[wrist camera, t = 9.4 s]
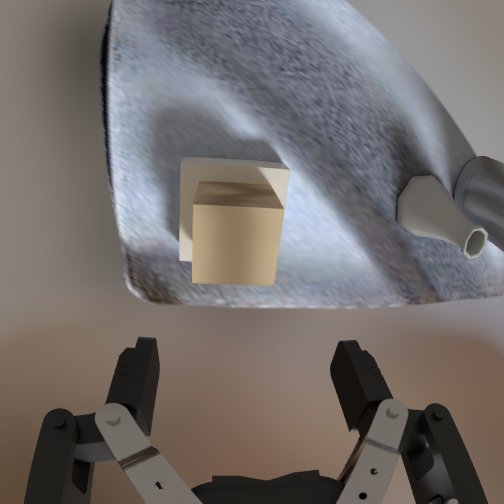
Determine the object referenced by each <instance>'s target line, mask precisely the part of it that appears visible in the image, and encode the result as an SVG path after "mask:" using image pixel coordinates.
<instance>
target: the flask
mask: <svg viewBox="0 0 504 504" xmlns="http://www.w3.org/2000/svg"><path fill="white" fill-rule="evenodd" d="M397 224H399V225H400V226H401V227H403V228H404V229H406V230H407V231H408V232H410V233H411V234H413V235H418V236H425V237H431V238H436V239H441V240H445V241H448V242H451V243H453V244H455V245H457V246H459V247H460V248H461V252H462V253H463V254H464V255H466V256H467V257H468V258H469V259H471V258H475V257H479V255H480V254H481V252H482V251H483V249H484V248H485V246H486V242H487V237H488V232H487V231H486V230H485V229H484V228H483V227H482V226H480V225H478V226H475V225H474V224H472V223H471V222H469V221H468V220H467V219H466V218H465V217H464V215H463V214H462V212H461V210H460V209H459V207H458V206H457V204H456V203H455V201H454V200H453V198H452V196H451V195H450V193H449V192H448V190H447V189H446V188H445V187H444V186H443V185H442V184H441V183H440V182H439V181H438V180H437V179H436V178H435V177H434V176H433V175H428V176H416V177H411V179H410V180H409V182H408V184H407V185H406V187H405V188H404V190H403V192H402V193H401V195H400V196H399V198H398V211H397Z"/></svg>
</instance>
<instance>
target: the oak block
mask: <svg viewBox="0 0 504 504" xmlns="http://www.w3.org/2000/svg"><path fill="white" fill-rule="evenodd" d="M283 217H284V207H283V206H282V204H281V202H280V200H279V198H278V197H277V195H276V193H275V191H274V190H273V188H272V186H271V185H262V184H247V183H229V182H208V181H199V183H198V187H197V191H196V195H195V199H194V204H193V247H192V283H206V284H236V285H274V279H275V272H276V266H277V259H278V252H279V245H280V238H281V231H282V224H283Z"/></svg>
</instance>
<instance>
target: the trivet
mask: <svg viewBox="0 0 504 504" xmlns="http://www.w3.org/2000/svg"><path fill="white" fill-rule="evenodd" d="M289 173H290V169H289V168H288V167H287V166H286V165H285V164H284V163H280V162H269V161H257V160H243V159H227V158H208V157H184V159H183V160H182V162H181V170H180V218H179V250H180V261H192V247H193V204H194V199H195V195H196V191H197V187H198V183H199V181H208V182H229V183H247V184H262V185H271V186H272V188H273V190H274V191H275V193H276V195H277V197H278V198H279V200H280V202H281V204H282V206H283V207H284V210H285V203H286V196H287V188H288V181H289Z"/></svg>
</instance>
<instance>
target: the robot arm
mask: <svg viewBox="0 0 504 504" xmlns="http://www.w3.org/2000/svg"><path fill="white" fill-rule="evenodd" d="M454 201H455V203H456V204H457V206H458V207H459V209H460V210H461V212H462V214H463V215H464V217H465V218H466V219H467V220H468V221H469V222H471V223H472V224H474V225H475V226H478V225H480V226H482V227H483V228H484V229H485V230H486V231H487V232H488V237H487V240H488V241H490V242H491V243H493V244H494V245H495V246H497V247H498V248H499V249H501V250H502V251H503V252H504V163H501V162H499V161H496V160H494V159H491V158H489V157H486V156H479V157H475V158H474V159H472V160H471V161H469V162H468V163H467V164H466V165H465V167H464V168H463V170H462V171H461V173H460V175H459V177H458V180H457V183H456V187H455V193H454ZM159 372H160V362H159V355H158V348H157V341H156V338H148V337H138V340H137V343H136V347H135V348H126V349H125V350H124V351H123V352H122V353H121V355H120V356H119V359H118V362H117V367H116V369H115V372H114V373H115V374H114V376H113V379H112V382H111V386H110V389H109V393H108V397H107V400H106V403H105V405H103V406H102V407H100V408H99V409H98V410H97V412H95V413H92V414H87V415H80V416H73V414H72V413H71V412H70V411H68V410H66V409H61V408H59V409H54V410H52V411H50V412H48V414H47V415H46V416H45V418H44V420H43V423H42V427H41V430H40V434H39V438H38V441H37V446H36V449H35V453H34V457H33V462H32V466H31V470H30V474H29V479H28V484H27V489H26V494H25V500H24V504H90V499H91V489H92V480H93V472H94V465H95V462H99V461H107V460H115V459H116V460H117V462H118V464H119V465H120V467H121V468H122V470H123V472H124V473H125V475H126V476H127V478H128V479H129V481H130V482H131V484H132V485H133V487H134V488H135V489H136V491H137V492H138V494H139V495H140V497H141V498H142V499H143V501H144V502H145V504H381V503H382V501H383V498H384V495H385V493H386V491H387V488H388V486H389V483H390V480H391V478H392V475H393V473H394V470H395V467H396V464H397V462H398V458H399V455H400V454H401V457H402V460H403V463H404V466H405V469H406V472H407V476H408V479H409V482H410V485H411V489H412V492H413V496H414V499H415V502H416V504H488V502H487V499H486V496H485V494H484V491H483V488H482V486H481V483H480V481H479V478H478V476H477V473H476V471H475V468H474V466H473V463H472V461H471V459H470V456H469V454H468V452H467V450H466V447H465V445H464V443H463V440H462V438H461V436H460V434H459V432H458V429H457V427H456V425H455V423H454V421H453V419H452V417H451V415H450V412H449V411H448V410H447V408H445V407H444V406H443V405H440V404H437V403H433V404H430V405H428V406H427V407H426V409H425V410H424V411H423V410H411V409H407V407H406V406H405V405H404V404H403V403H402V402H400V401H398V400H395V399H394V398H393V396H392V394H391V392H390V390H389V388H388V386H387V384H386V382H385V380H384V378H383V376H382V375H381V371H380V369H379V368H378V365H377V363H376V361H375V359H374V358H373V357H372V356H371V355H370V354H369V353H368V352H367V351H366V350H364V351H362V350H361V348H360V346H359V344H358V342H357V341H356V340H347V341H340V342H339V343H338V345H337V348H336V351H335V354H334V356H333V360H332V362H331V366H330V374H331V378H332V381H333V384H334V387H335V390H336V393H337V395H338V399H339V402H340V405H341V408H342V410H343V414H344V417H345V419H346V423H347V425H348V429H349V432H356V431H358V432H359V434H360V437H359V438H358V440H357V442H356V444H355V446H354V448H353V451H352V452H351V454H350V456H349V458H348V460H347V462H346V464H345V466H344V468H343V470H342V471H341V473H340V475H339V476H338V478H337V479H336V480H335V479H333V478H329V477H325V476H320V474H319V470H312V471H304V472H295V473H291V474H288V475H285V476H282V477H279V478H275V479H272V480H259V479H253V478H248V477H243V476H212V482H207V483H204V484H201V485H198V486H196V487H194V488H192V489H191V490H190V489H189V488H188V486H187V485H186V484H185V483H184V482H183V481H182V479H181V478H180V477H179V476H178V475H177V473H176V472H175V471H174V470H173V469H172V467H171V466H170V465H169V463H168V462H167V461H166V460H165V458H164V457H163V455H162V454H161V453H160V452H159V451H158V450H157V449H156V448H154V447H152V445H151V443H150V442H149V441H148V439H147V438H146V436H150V434H151V426H152V419H153V412H154V406H155V399H156V393H157V386H158V380H159Z"/></svg>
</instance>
